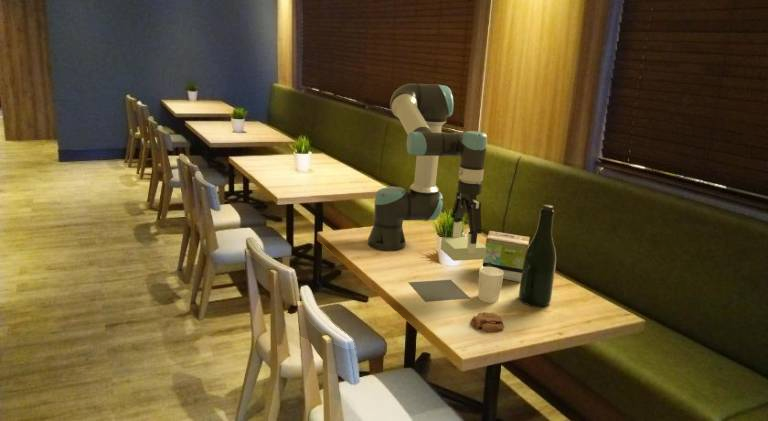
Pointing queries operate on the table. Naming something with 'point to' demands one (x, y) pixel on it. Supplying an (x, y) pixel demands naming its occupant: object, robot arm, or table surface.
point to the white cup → (490, 284)
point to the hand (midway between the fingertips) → (463, 246)
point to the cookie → (488, 322)
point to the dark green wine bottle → (539, 263)
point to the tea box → (506, 253)
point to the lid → (461, 249)
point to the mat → (438, 290)
